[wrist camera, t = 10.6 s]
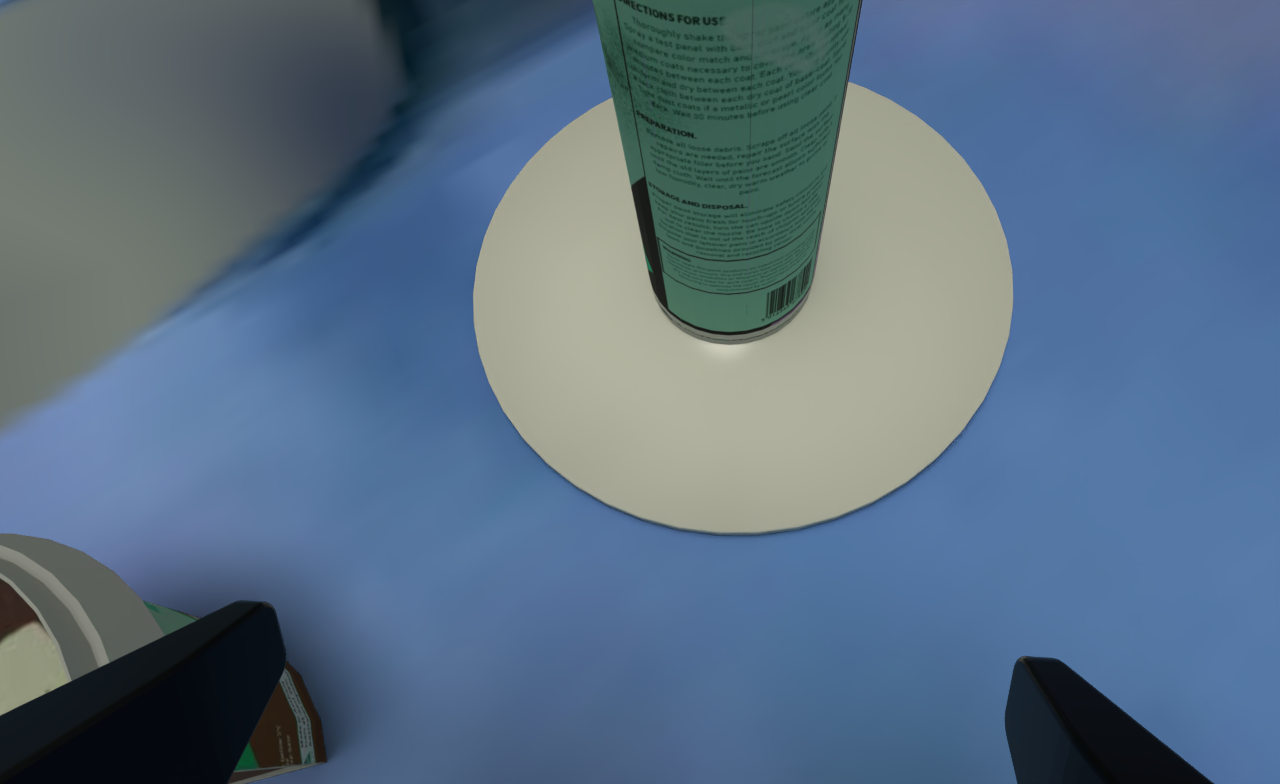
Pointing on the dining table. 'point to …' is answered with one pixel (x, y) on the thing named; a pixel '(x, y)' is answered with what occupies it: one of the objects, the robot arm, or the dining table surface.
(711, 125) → the spray can
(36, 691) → the food container
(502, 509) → the dining table surface
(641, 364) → the cream round disc
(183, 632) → the robot arm
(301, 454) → the dining table surface
